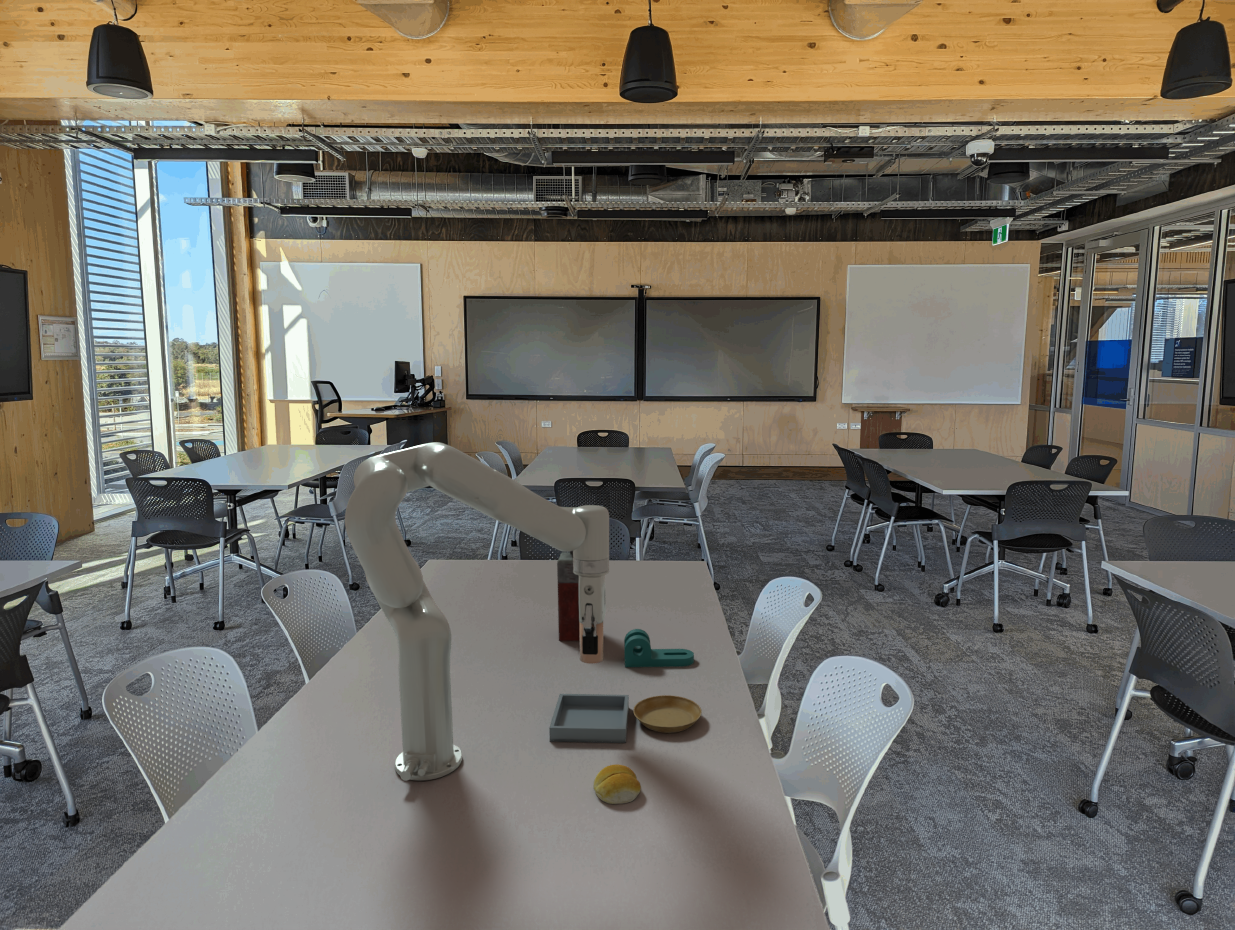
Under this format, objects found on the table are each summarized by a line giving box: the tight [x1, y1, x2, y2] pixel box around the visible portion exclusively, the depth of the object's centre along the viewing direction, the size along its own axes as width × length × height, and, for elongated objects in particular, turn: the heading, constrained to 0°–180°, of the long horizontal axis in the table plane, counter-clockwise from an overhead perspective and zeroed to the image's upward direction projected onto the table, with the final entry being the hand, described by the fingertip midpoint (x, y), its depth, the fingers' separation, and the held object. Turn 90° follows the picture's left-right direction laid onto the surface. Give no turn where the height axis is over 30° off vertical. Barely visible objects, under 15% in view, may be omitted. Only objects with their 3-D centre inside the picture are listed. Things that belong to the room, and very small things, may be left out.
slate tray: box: [548, 693, 630, 744], centre depth 155 cm, size 16×16×3 cm
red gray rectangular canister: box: [556, 551, 580, 642], centre depth 206 cm, size 9×11×28 cm
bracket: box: [623, 628, 695, 668], centre depth 188 cm, size 18×7×8 cm, turn 91°
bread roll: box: [593, 763, 642, 805], centre depth 131 cm, size 8×9×4 cm
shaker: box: [579, 609, 604, 665], centre depth 153 cm, size 5×5×10 cm
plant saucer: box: [633, 694, 702, 734], centre depth 157 cm, size 15×15×3 cm
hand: (591, 647), depth 153 cm, fingers closed on shaker, 5 cm apart
